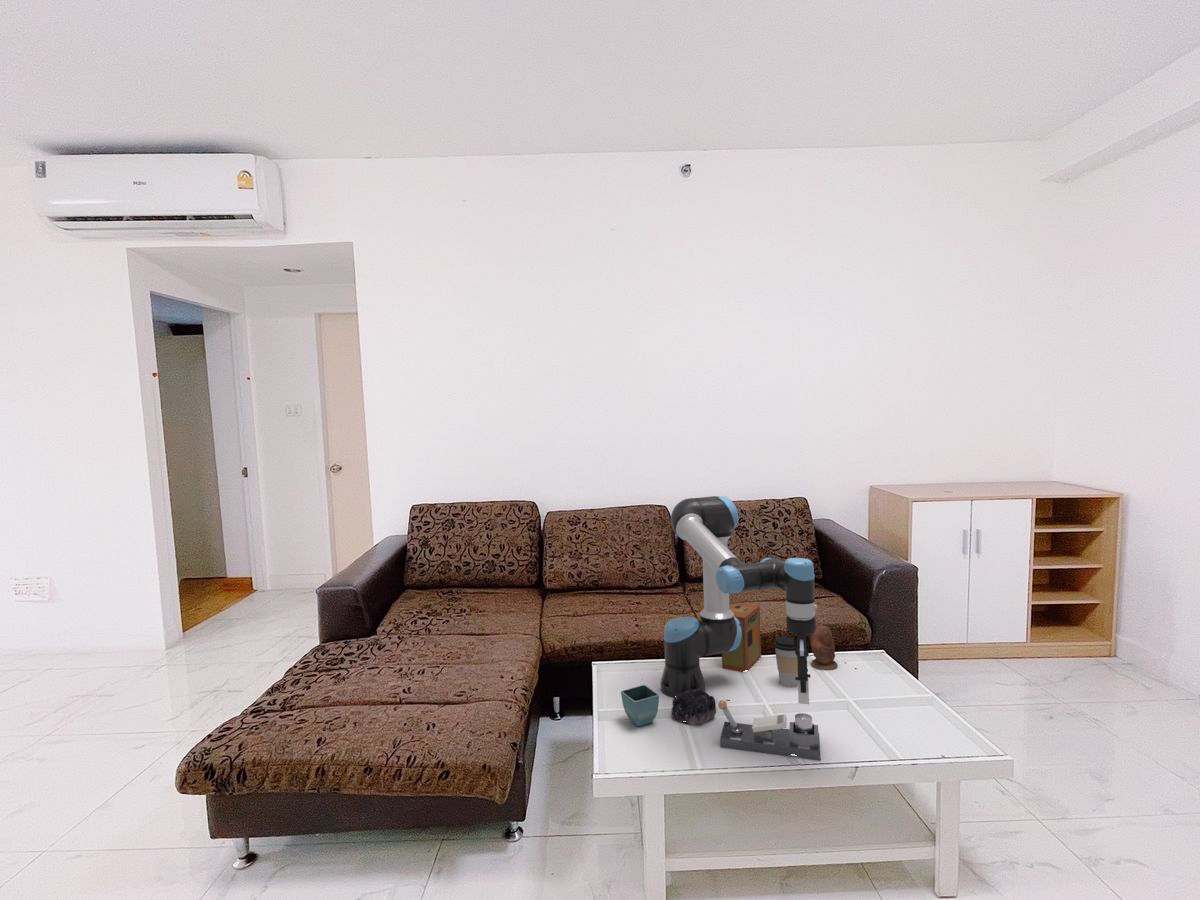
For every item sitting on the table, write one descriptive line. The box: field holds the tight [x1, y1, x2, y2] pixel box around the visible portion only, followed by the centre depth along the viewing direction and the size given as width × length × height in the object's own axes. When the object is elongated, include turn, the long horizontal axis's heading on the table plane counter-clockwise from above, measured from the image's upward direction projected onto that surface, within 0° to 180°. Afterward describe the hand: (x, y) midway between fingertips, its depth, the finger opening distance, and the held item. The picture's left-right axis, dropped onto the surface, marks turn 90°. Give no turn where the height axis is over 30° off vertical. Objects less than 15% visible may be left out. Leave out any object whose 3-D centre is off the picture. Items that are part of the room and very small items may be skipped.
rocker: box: [752, 713, 788, 732], centre depth 167 cm, size 9×6×1 cm, turn 72°
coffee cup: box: [772, 635, 798, 688], centre depth 206 cm, size 9×9×15 cm
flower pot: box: [620, 684, 660, 727], centre depth 182 cm, size 9×9×9 cm
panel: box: [719, 721, 821, 761], centre depth 167 cm, size 26×10×5 cm, turn 71°
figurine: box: [810, 624, 838, 671], centre depth 220 cm, size 9×10×15 cm
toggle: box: [717, 699, 737, 728], centre depth 170 cm, size 2×2×8 cm
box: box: [721, 602, 762, 673], centre depth 225 cm, size 17×9×20 cm, turn 147°
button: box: [794, 712, 813, 735], centre depth 164 cm, size 4×4×4 cm
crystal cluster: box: [671, 688, 717, 726], centre depth 185 cm, size 13×14×10 cm
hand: (803, 702), depth 163 cm, fingers closed
